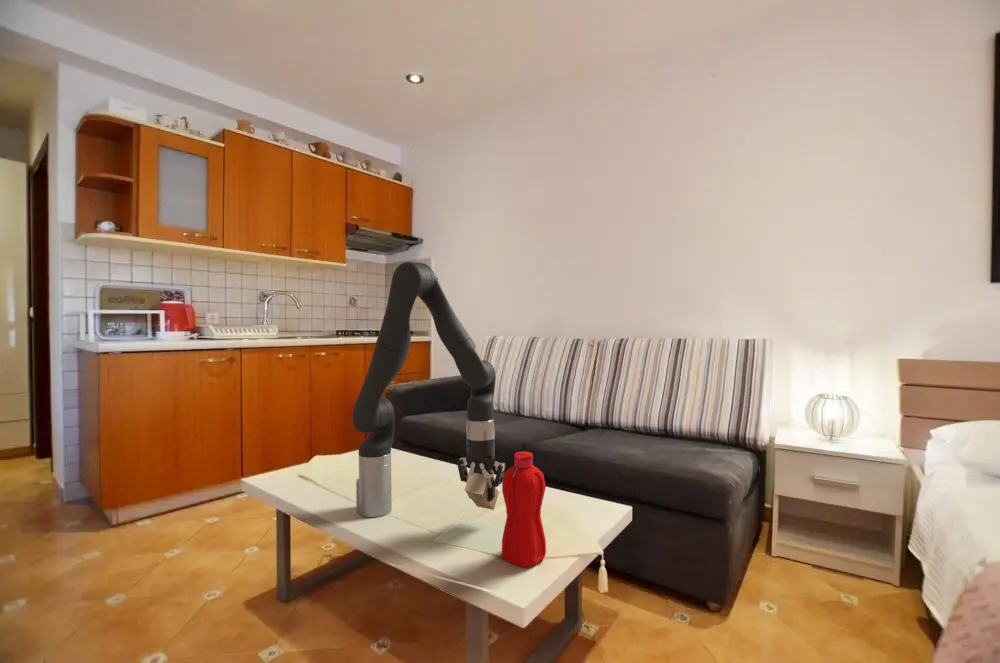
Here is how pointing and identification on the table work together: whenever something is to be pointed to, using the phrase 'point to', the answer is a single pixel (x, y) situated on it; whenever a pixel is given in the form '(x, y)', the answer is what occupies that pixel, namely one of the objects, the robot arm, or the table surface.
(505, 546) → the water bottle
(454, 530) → the sage mat
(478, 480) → the walnut block
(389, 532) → the table surface
